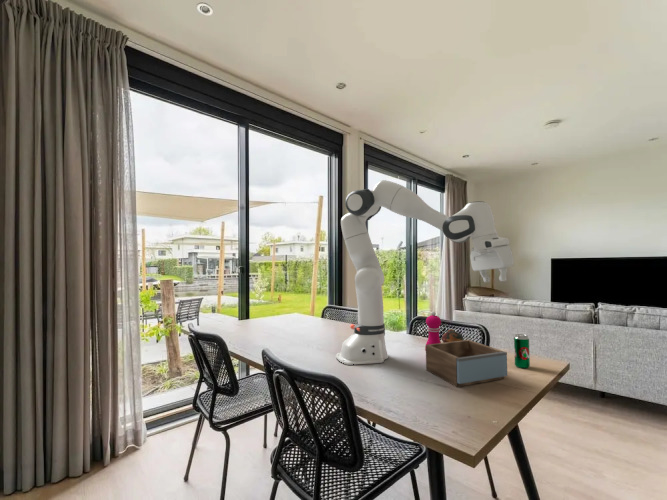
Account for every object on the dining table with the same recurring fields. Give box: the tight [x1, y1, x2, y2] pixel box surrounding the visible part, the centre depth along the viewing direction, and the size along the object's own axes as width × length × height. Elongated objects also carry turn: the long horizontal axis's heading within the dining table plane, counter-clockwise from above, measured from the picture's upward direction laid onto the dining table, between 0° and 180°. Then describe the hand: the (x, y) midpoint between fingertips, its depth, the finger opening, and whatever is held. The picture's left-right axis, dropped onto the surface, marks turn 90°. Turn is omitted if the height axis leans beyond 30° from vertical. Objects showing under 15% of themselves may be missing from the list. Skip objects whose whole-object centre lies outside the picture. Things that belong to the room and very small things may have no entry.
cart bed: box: [425, 339, 505, 388], centre depth 118 cm, size 20×17×10 cm
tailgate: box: [456, 350, 508, 384], centre depth 109 cm, size 20×1×8 cm, turn 109°
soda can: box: [513, 333, 531, 370], centre depth 125 cm, size 5×5×12 cm
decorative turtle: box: [441, 328, 465, 343], centre depth 151 cm, size 10×15×8 cm, turn 170°
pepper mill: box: [424, 311, 442, 352], centre depth 134 cm, size 7×7×20 cm
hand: (495, 281), depth 117 cm, fingers open, 8 cm apart
